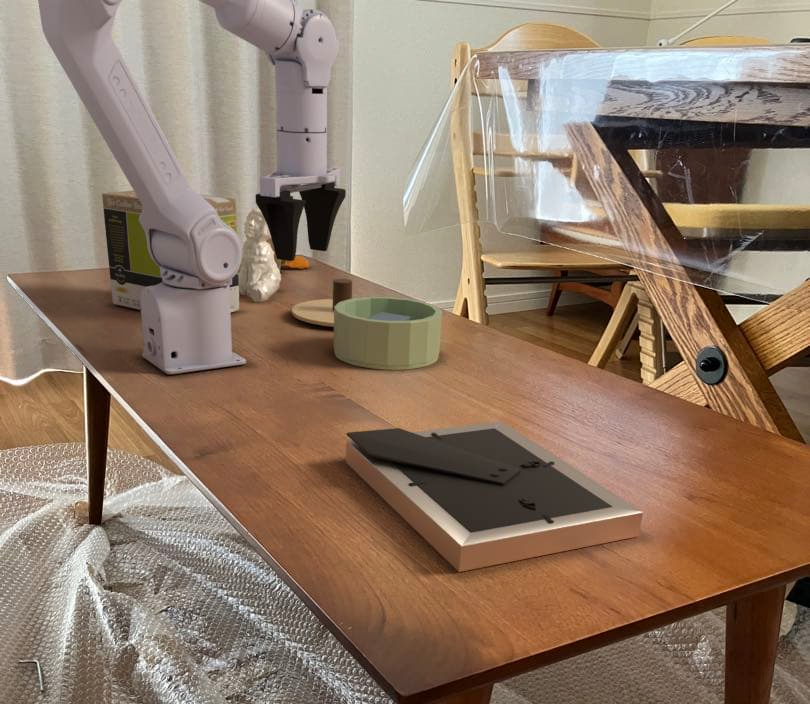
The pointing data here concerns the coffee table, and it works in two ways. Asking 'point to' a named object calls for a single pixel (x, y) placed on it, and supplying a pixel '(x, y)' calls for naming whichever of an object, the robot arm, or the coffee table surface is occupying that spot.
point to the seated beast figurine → (258, 260)
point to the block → (389, 317)
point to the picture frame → (488, 493)
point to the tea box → (145, 247)
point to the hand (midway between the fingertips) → (302, 254)
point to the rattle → (296, 263)
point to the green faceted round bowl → (387, 333)
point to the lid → (324, 305)
